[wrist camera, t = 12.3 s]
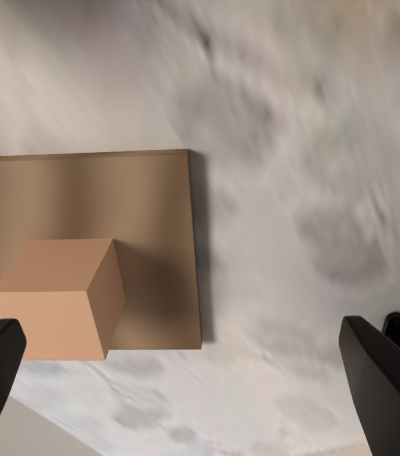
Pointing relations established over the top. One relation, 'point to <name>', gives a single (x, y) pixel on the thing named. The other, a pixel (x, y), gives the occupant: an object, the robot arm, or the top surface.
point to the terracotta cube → (65, 298)
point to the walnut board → (115, 231)
